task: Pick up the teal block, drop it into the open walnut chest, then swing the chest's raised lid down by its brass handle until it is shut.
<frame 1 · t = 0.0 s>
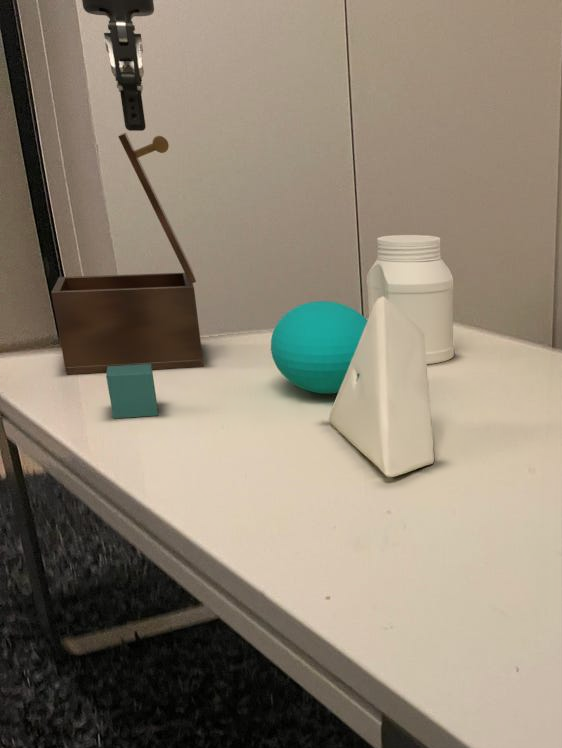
hand: (136, 130, 115), 27 cm above the table, tool pointing down, fingers open, 8 cm apart
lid: (173, 201, 125), point 19 cm above the table, hinge at 70.0°
white wedge: (400, 448, 98), on the table
block: (135, 411, 109), on the table
toy: (329, 391, 118), on the table
chest: (136, 359, 132), on the table
jar: (412, 357, 135), on the table
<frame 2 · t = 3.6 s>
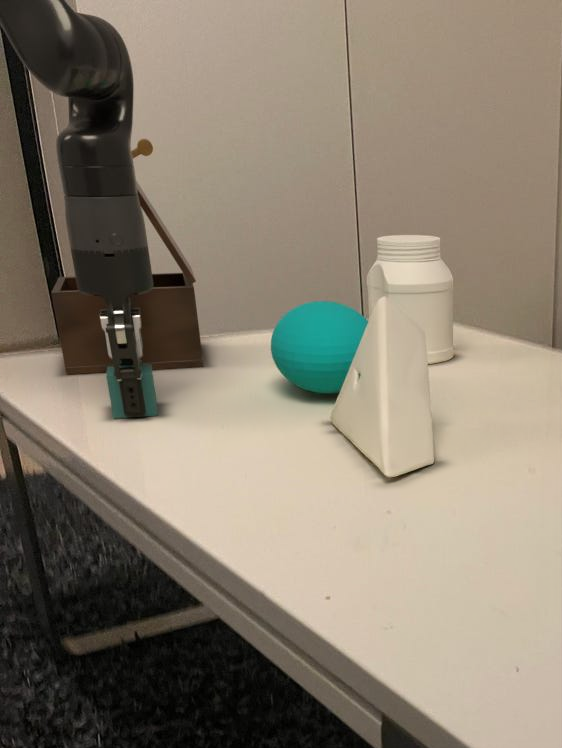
hand: (135, 408, 109), 0 cm above the table, tool pointing down, fingers closed on block, 4 cm apart
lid: (164, 202, 125), point 19 cm above the table, hinge at 63.0°
block: (135, 411, 109), on the table, touching gripper
everything else where it was.
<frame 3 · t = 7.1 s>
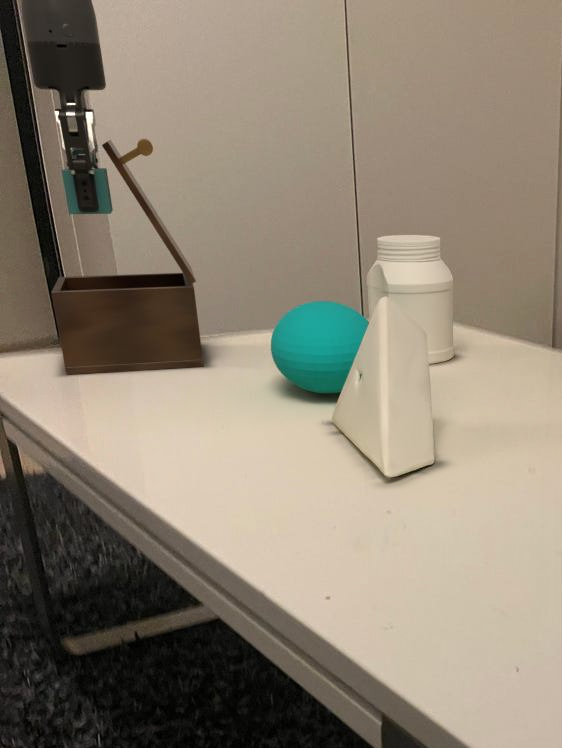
hand: (90, 209, 116), 19 cm above the table, tool pointing down, fingers closed on block, 4 cm apart
block: (91, 212, 116), point 19 cm above the table, touching gripper
everything else where it was.
when the fingers open (10 cm above the table, at t = 10.9 s): block drops 8 cm, resting on chest.
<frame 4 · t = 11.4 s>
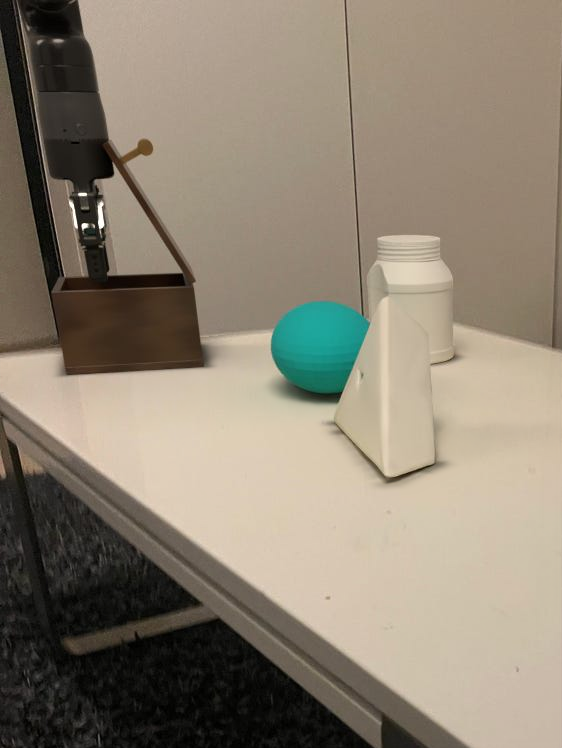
hand: (100, 277, 127), 11 cm above the table, tool pointing down, fingers open, 8 cm apart
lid: (164, 202, 125), point 19 cm above the table, hinge at 63.1°, touching arm
block: (115, 353, 131), point 1 cm above the table, touching chest
everything else where it was.
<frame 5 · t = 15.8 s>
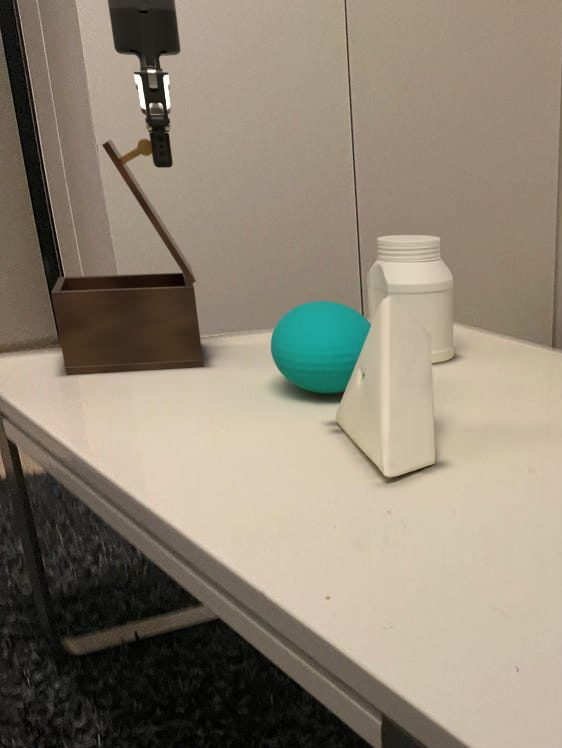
hand: (163, 165, 123), 23 cm above the table, tool pointing down, fingers closed on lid, 6 cm apart
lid: (164, 202, 125), point 19 cm above the table, hinge at 63.1°, touching gripper
everything else where it was.
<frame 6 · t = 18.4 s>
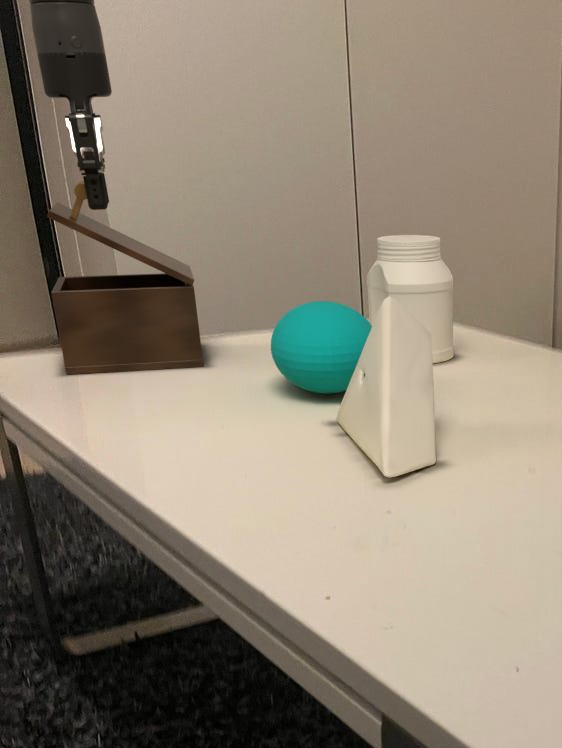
hand: (99, 206, 123), 19 cm above the table, tool pointing down, fingers closed on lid, 6 cm apart
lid: (129, 227, 125), point 16 cm above the table, hinge at 28.1°, touching gripper
everything else where it was.
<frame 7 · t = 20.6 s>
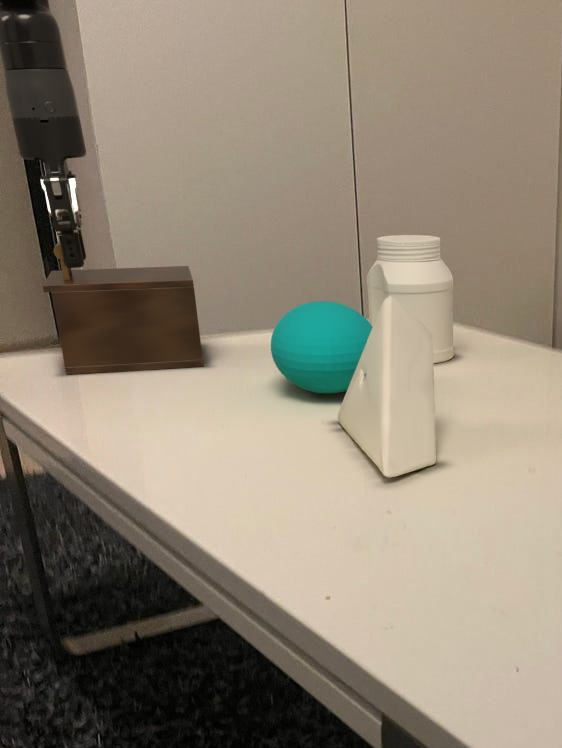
hand: (76, 263, 125), 12 cm above the table, tool pointing down, fingers closed on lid, 6 cm apart
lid: (117, 261, 127), point 12 cm above the table, hinge at -0.2°, touching chest, gripper
everything else where it was.
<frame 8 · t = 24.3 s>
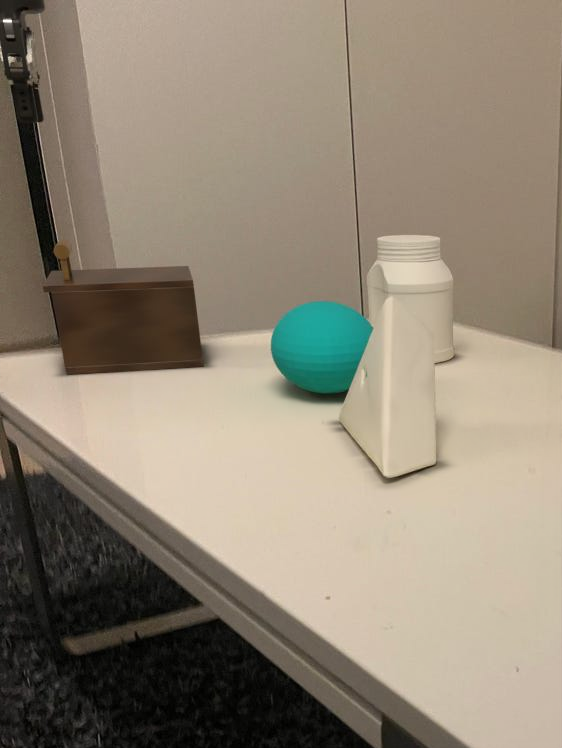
hand: (31, 122, 121), 28 cm above the table, tool pointing down, fingers open, 8 cm apart
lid: (117, 261, 127), point 12 cm above the table, hinge at -0.2°, touching chest
everything else where it was.
at the end: block inside the target area in the chest (2.6 cm from its centre), point 0.9 cm above the chest's base; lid at +0° (first picture: +70°) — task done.
